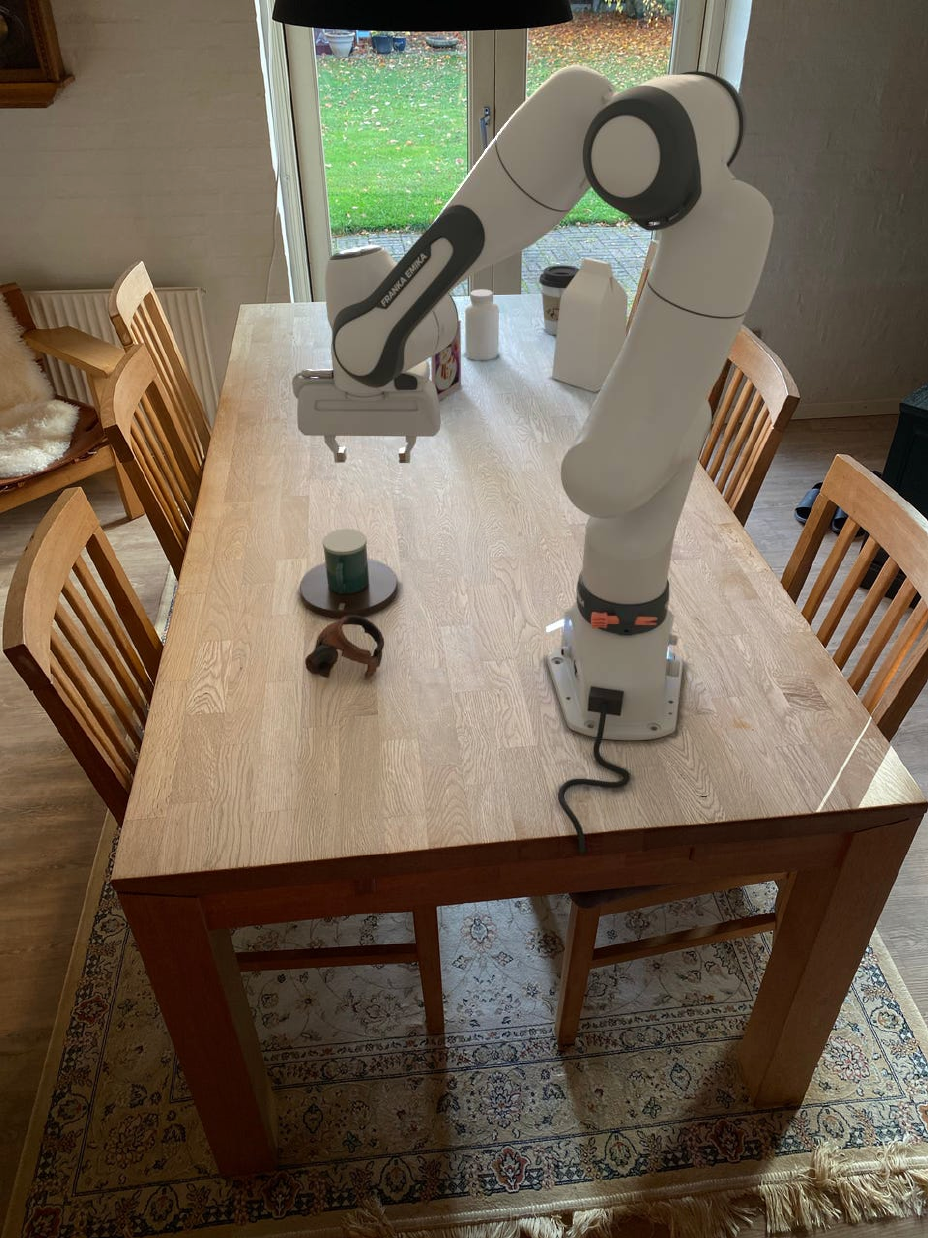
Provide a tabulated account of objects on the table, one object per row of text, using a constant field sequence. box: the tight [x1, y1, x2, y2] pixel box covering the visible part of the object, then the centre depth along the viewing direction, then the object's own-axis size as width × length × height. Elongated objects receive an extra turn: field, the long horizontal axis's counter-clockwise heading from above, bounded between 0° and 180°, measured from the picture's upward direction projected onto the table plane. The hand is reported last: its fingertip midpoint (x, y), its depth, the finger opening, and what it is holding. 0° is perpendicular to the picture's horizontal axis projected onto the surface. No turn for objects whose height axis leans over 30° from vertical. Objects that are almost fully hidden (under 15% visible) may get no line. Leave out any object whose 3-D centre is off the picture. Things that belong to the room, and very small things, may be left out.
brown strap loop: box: [304, 615, 385, 679], centre depth 129 cm, size 12×10×8 cm
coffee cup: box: [538, 264, 580, 336], centre depth 235 cm, size 11×11×15 cm
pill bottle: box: [464, 288, 500, 361], centre depth 222 cm, size 8×8×15 cm
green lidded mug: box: [322, 528, 369, 594], centre depth 142 cm, size 7×9×8 cm
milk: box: [551, 257, 629, 393], centre depth 207 cm, size 12×12×26 cm
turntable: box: [299, 557, 398, 620], centre depth 145 cm, size 15×15×2 cm
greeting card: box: [430, 319, 462, 401], centre depth 204 cm, size 11×7×15 cm, turn 148°
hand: (372, 461), depth 136 cm, fingers open, 8 cm apart
